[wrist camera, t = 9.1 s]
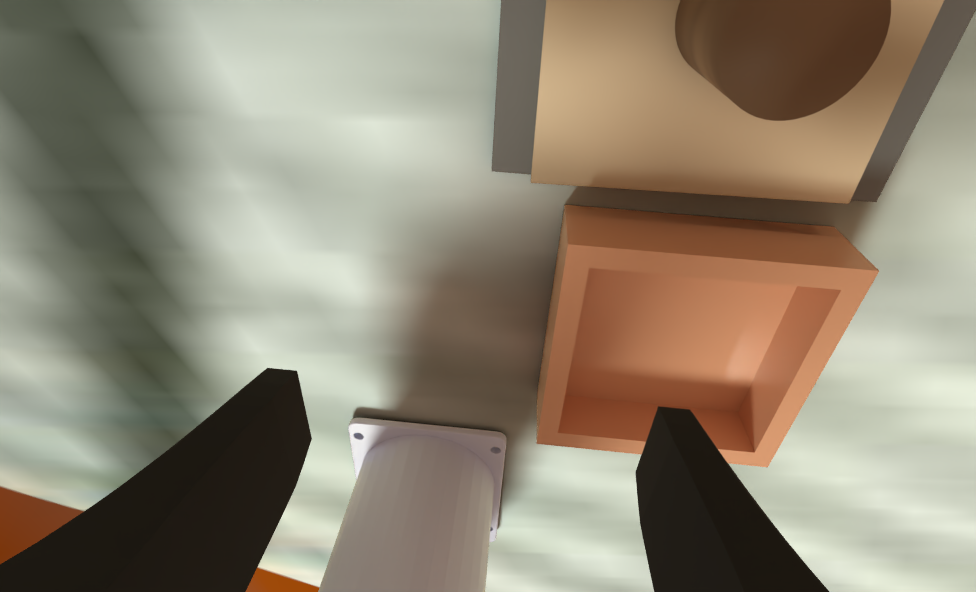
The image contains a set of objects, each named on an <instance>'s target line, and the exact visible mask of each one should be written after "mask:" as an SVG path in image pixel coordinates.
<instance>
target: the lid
mask: <svg viewBox="0 0 976 592" xmlns="http://www.w3.org/2000/svg"><path fill="white" fill-rule="evenodd" d="M943 2H944V0H546V9H545V21H544V32H543V44H542V55H541V67H540V79H539V90H538V102H537V113H536V125H535V137H534V148H533V160H532V171H531V183H543V184H559V185H574V186H589V187H604V188H619V189H634V190H649V191H664V192H680V193H695V194H710V195H725V196H740V197H755V198H770V199H785V200H801V201H816V202H831V203H846V204H849V203H850V200H851V198H852V196H853V194H854V192H855V190H856V188H857V186H858V183H859V181H860V179H861V177H862V175H863V173H864V171H865V168H866V166H867V164H868V162H869V160H870V158H871V156H872V154H873V151H874V149H875V147H876V145H877V143H878V141H879V139H880V136H881V134H882V132H883V130H884V128H885V126H886V124H887V122H888V119H889V117H890V115H891V113H892V111H893V109H894V107H895V104H896V102H897V100H898V98H899V96H900V94H901V92H902V90H903V87H904V85H905V83H906V81H907V79H908V77H909V75H910V72H911V70H912V68H913V66H914V64H915V62H916V60H917V58H918V55H919V53H920V51H921V49H922V47H923V45H924V43H925V40H926V38H927V36H928V34H929V32H930V30H931V28H932V26H933V23H934V21H935V19H936V17H937V15H938V13H939V11H940V8H941V6H942V4H943Z"/></svg>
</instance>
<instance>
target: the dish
mask: <svg viewBox="0 0 976 592" xmlns="http://www.w3.org/2000/svg"><path fill="white" fill-rule="evenodd" d="M878 272H879V270H878V269H877V268H876V267H875V266H874V265H873V264H872V263H871V262H870V261H869V260H867V259H866V258H865V257H864V256H863V255H862V254H861V253H860V252H859V251H858V250H857V249H856V248H855V247H854V246H853V245H852V244H851V243H850V242H849V241H848V240H847V239H846V238H845V237H844V236H843V235H842V234H841V233H840V232H839V231H838V230H837V229H836V228H835V227H830V226H818V225H806V224H794V223H782V222H769V221H757V220H745V219H733V218H721V217H709V216H697V215H684V214H672V213H660V212H648V211H636V210H624V209H612V208H599V207H587V206H575V205H564V212H563V218H562V225H561V232H560V239H559V246H558V253H557V259H556V266H555V273H554V280H553V287H552V294H551V301H550V307H549V314H548V321H547V328H546V335H545V342H544V349H543V355H542V362H541V369H540V376H539V383H538V390H537V444H545V445H555V446H565V447H575V448H585V449H594V450H604V451H614V452H624V453H634V454H642V452H643V449H644V446H645V443H646V440H647V438H648V435H649V432H650V429H651V426H652V423H653V420H654V417H655V414H656V411H657V408H658V406H660V407H670V408H681V409H690V410H691V412H692V413H693V414H694V415H695V417H696V418H697V420H698V421H699V423H700V424H701V425H702V427H703V428H704V430H705V431H706V433H707V434H708V436H709V437H710V439H711V440H712V441H713V443H714V444H715V446H716V447H717V449H718V450H719V451H720V453H721V454H722V456H723V457H724V459H725V460H726V461H727V463H732V464H741V465H751V466H761V467H768V466H769V464H770V462H771V460H772V459H773V457H774V455H775V453H776V452H777V450H778V448H779V446H780V445H781V443H782V441H783V439H784V438H785V436H786V434H787V432H788V431H789V429H790V427H791V425H792V423H793V422H794V420H795V418H796V416H797V415H798V413H799V411H800V409H801V408H802V406H803V404H804V402H805V401H806V399H807V397H808V395H809V394H810V392H811V390H812V388H813V387H814V385H815V383H816V381H817V379H818V378H819V376H820V374H821V372H822V371H823V369H824V367H825V365H826V364H827V362H828V360H829V358H830V357H831V355H832V353H833V351H834V350H835V348H836V346H837V344H838V343H839V341H840V339H841V337H842V336H843V334H844V332H845V330H846V328H847V327H848V325H849V323H850V321H851V320H852V318H853V316H854V314H855V313H856V311H857V309H858V307H859V306H860V304H861V302H862V300H863V299H864V297H865V295H866V293H867V292H868V290H869V288H870V286H871V284H872V283H873V281H874V279H875V277H876V276H877V274H878Z"/></svg>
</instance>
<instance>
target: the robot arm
mask: <svg viewBox="0 0 976 592" xmlns="http://www.w3.org/2000/svg"><path fill="white" fill-rule="evenodd" d="M348 430H349V436H350V443H351V449H352V456H353V462H354V469H355V475H356V483H355V486H354V489H353V492H352V495H351V498H350V501H349V504H348V507H347V510H346V513H345V515H344V518H343V521H342V524H341V527H340V530H339V533H338V536H337V539H336V542H335V545H334V547H333V550H332V553H331V556H330V559H329V562H328V565H327V568H326V571H325V574H324V577H323V579H322V582H321V585H320V588H319V591H318V592H485V586H486V574H487V563H488V551H489V542H493V541H495V540H496V535H497V526H498V516H499V507H500V498H501V488H502V479H503V469H504V460H505V451H506V440H507V439H506V436H505V435H504V434H503V433H501V432H497V431H487V430H478V429H468V428H458V427H448V426H438V425H428V424H418V423H408V422H399V421H389V420H379V419H369V418H353V419H352V420H351V421H350V423H349V426H348ZM311 439H312V438H311V433H310V429H309V424H308V420H307V415H306V410H305V406H304V401H303V397H302V392H301V387H300V383H299V378H298V374H297V371H293V370H283V369H272V368H267V369H266V370H264V371H263V372H262V373H261V374H260V375H258V376H257V377H256V378H255V379H253V380H252V381H251V382H250V383H249V384H247V385H246V386H245V387H244V388H243V389H241V390H240V391H239V392H238V393H237V394H235V395H234V396H233V397H232V398H231V399H230V400H228V401H227V402H226V403H225V404H224V405H222V406H221V407H220V408H219V409H218V410H216V411H215V412H214V413H213V414H212V415H210V416H209V417H208V418H207V419H206V420H204V421H203V422H202V423H201V424H200V425H198V426H197V427H196V428H195V429H193V430H192V431H191V432H190V433H188V434H187V435H186V436H185V437H184V438H182V439H181V440H180V441H179V442H177V443H176V444H175V445H174V446H172V447H171V448H170V449H169V450H167V451H166V452H165V453H164V454H162V455H161V456H160V457H158V458H157V459H156V460H154V461H153V462H152V463H150V464H149V465H148V466H146V467H145V468H144V469H143V470H141V471H140V472H139V473H137V474H136V475H135V476H133V477H132V478H131V479H129V480H128V481H127V482H125V483H124V484H123V485H121V486H120V487H119V488H117V489H116V490H114V491H113V492H112V493H110V494H109V495H107V496H106V497H105V498H103V499H102V500H100V501H99V502H97V503H96V504H95V505H93V506H92V507H90V508H89V509H87V510H86V511H84V512H83V513H81V514H80V515H78V516H77V517H75V518H74V519H72V520H71V521H69V522H68V523H66V524H65V525H63V526H62V527H60V528H59V529H57V530H56V531H54V532H53V533H51V534H49V535H48V536H46V537H45V538H43V539H42V540H40V541H39V542H37V543H35V544H34V545H32V546H31V547H29V548H27V549H25V550H24V551H22V552H20V553H19V554H17V555H15V556H14V557H12V558H10V559H9V560H7V561H5V562H4V563H2V564H0V592H245V591H246V589H247V587H248V585H249V583H250V581H251V579H252V577H253V575H254V573H255V571H256V568H257V567H258V564H259V562H260V560H261V558H262V556H263V554H264V552H265V550H266V548H267V546H268V544H269V542H270V540H271V537H272V535H273V533H274V531H275V529H276V527H277V525H278V523H279V521H280V519H281V517H282V514H283V512H284V510H285V508H286V506H287V504H288V502H289V500H290V498H291V495H292V493H293V491H294V489H295V487H296V484H297V481H298V478H299V475H300V473H301V470H302V467H303V464H304V461H305V458H306V455H307V452H308V449H309V445H310V442H311ZM636 482H637V495H638V506H639V516H640V524H641V529H642V535H643V540H644V544H645V549H646V554H647V559H648V564H649V569H650V573H651V578H652V583H653V588H654V592H829V591H828V590H827V588H826V587H825V586H824V585H823V584H822V583H821V582H820V580H819V579H818V578H817V577H816V576H815V575H814V573H813V572H812V571H811V570H810V569H809V568H808V566H807V565H806V564H805V563H804V562H803V560H802V559H801V558H800V557H799V555H798V554H797V553H796V552H795V551H794V549H793V548H792V547H791V546H790V545H789V543H788V542H787V541H786V540H785V538H784V537H783V536H782V535H781V533H780V532H779V531H778V530H777V528H776V527H775V526H774V525H773V523H772V522H771V521H770V519H769V518H768V517H767V515H766V514H765V513H764V511H763V510H762V509H761V508H760V506H759V505H758V504H757V502H756V501H755V500H754V498H753V497H752V496H751V494H750V493H749V492H748V490H747V489H746V488H745V486H744V485H743V484H742V482H741V481H740V480H739V478H738V477H737V475H736V474H735V473H734V471H733V470H732V468H731V467H730V466H729V464H728V463H727V461H726V460H725V459H724V457H723V456H722V454H721V453H720V451H719V450H718V449H717V447H716V446H715V444H714V443H713V441H712V440H711V439H710V437H709V436H708V434H707V433H706V431H705V430H704V428H703V427H702V425H701V424H700V423H699V421H698V420H697V418H696V417H695V415H694V414H693V413H692V412H691V410H690V409H681V408H670V407H660V406H658V408H657V411H656V414H655V417H654V420H653V423H652V426H651V429H650V432H649V435H648V438H647V440H646V443H645V446H644V449H643V452H642V455H641V458H640V461H639V464H638V467H637V470H636Z"/></svg>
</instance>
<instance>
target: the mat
mask: <svg viewBox="0 0 976 592" xmlns="http://www.w3.org/2000/svg"><path fill="white" fill-rule="evenodd" d="M545 9H546V0H501V15H500V33H499V51H498V68H497V86H496V104H495V121H494V139H493V157H492V171H496V172H508V173H521V174H531V171H532V160H533V148H534V137H535V125H536V113H537V102H538V90H539V79H540V67H541V55H542V44H543V32H544V21H545ZM975 10H976V0H944V2H943V4H942V6H941V8H940V11H939V13H938V15H937V17H936V19H935V21H934V23H933V26H932V28H931V30H930V32H929V34H928V36H927V38H926V40H925V43H924V45H923V47H922V49H921V51H920V53H919V55H918V58H917V60H916V62H915V64H914V66H913V68H912V70H911V72H910V75H909V77H908V79H907V81H906V83H905V85H904V87H903V90H902V92H901V94H900V96H899V98H898V100H897V102H896V104H895V107H894V109H893V111H892V113H891V115H890V117H889V119H888V122H887V124H886V126H885V128H884V130H883V132H882V134H881V136H880V139H879V141H878V143H877V145H876V147H875V149H874V151H873V154H872V156H871V158H870V160H869V162H868V164H867V166H866V168H865V171H864V173H863V175H862V177H861V179H860V181H859V183H858V186H857V188H856V190H855V192H854V194H853V196H852V198H851V200H858V201H870V202H877V200H878V198H879V196H880V194H881V192H882V190H883V188H884V186H885V184H886V182H887V180H888V178H889V176H890V174H891V173H892V171H893V169H894V167H895V165H896V163H897V161H898V159H899V157H900V155H901V153H902V151H903V149H904V147H905V146H906V144H907V142H908V140H909V138H910V136H911V134H912V132H913V130H914V128H915V126H916V124H917V122H918V120H919V118H920V117H921V115H922V113H923V111H924V109H925V107H926V105H927V103H928V101H929V99H930V97H931V95H932V93H933V91H934V90H935V88H936V86H937V84H938V82H939V80H940V78H941V76H942V74H943V72H944V70H945V68H946V66H947V64H948V63H949V61H950V59H951V57H952V55H953V53H954V51H955V49H956V47H957V45H958V43H959V41H960V39H961V37H962V35H963V34H964V32H965V30H966V28H967V26H968V24H969V22H970V20H971V18H972V16H973V14H974V12H975Z"/></svg>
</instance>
